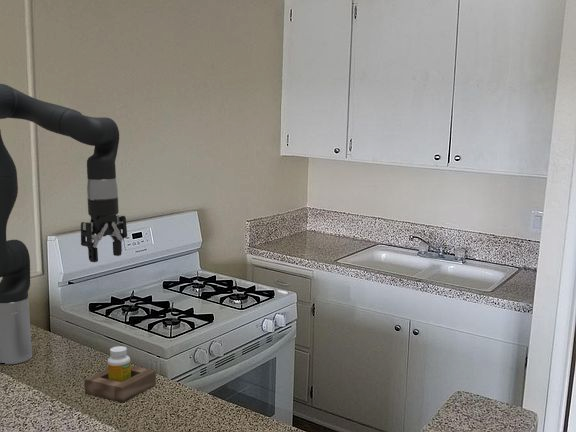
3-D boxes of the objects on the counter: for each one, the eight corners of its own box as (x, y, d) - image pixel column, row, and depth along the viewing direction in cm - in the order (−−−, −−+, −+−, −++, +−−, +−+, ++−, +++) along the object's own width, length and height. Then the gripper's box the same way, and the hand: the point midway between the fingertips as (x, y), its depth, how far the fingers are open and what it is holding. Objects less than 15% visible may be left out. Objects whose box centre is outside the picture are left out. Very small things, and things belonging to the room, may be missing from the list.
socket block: (85, 393, 162) (84, 379, 161) (119, 376, 172) (118, 363, 172) (123, 402, 156) (122, 388, 156) (155, 384, 167) (155, 370, 166)
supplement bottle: (125, 391, 161) (124, 353, 159) (105, 390, 162) (103, 352, 160) (135, 383, 166) (133, 345, 165) (114, 381, 167) (112, 344, 166)
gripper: (111, 192, 178) (114, 252, 180) (70, 198, 165) (74, 262, 168) (132, 194, 174) (135, 254, 177) (93, 200, 162) (96, 265, 164)
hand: (105, 258), depth 172 cm, fingers open, 8 cm apart
